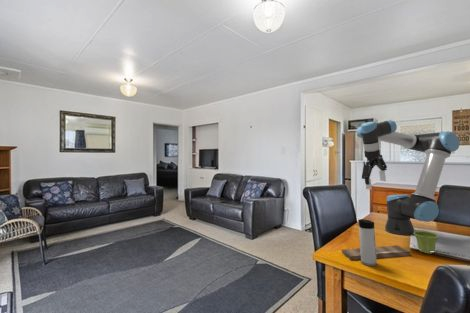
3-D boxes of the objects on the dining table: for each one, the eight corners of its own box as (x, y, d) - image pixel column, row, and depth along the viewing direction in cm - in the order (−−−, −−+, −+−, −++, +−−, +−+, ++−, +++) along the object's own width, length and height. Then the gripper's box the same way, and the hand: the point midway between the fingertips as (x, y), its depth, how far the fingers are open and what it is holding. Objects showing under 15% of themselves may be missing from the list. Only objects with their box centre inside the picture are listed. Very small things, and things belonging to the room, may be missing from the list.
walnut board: (398, 249, 120) (397, 245, 120) (410, 255, 112) (410, 251, 112) (342, 253, 118) (341, 249, 118) (350, 260, 110) (350, 256, 110)
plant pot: (433, 248, 119) (432, 231, 119) (443, 256, 110) (442, 237, 110) (411, 247, 122) (410, 230, 122) (419, 254, 113) (418, 236, 113)
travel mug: (357, 260, 109) (355, 218, 110) (370, 259, 110) (368, 217, 110) (365, 267, 103) (363, 222, 103) (379, 265, 104) (377, 220, 104)
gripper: (378, 143, 138) (382, 176, 143) (351, 156, 128) (356, 191, 132) (391, 143, 132) (395, 178, 136) (364, 157, 121) (369, 194, 125)
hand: (376, 185), depth 134 cm, fingers open, 13 cm apart
